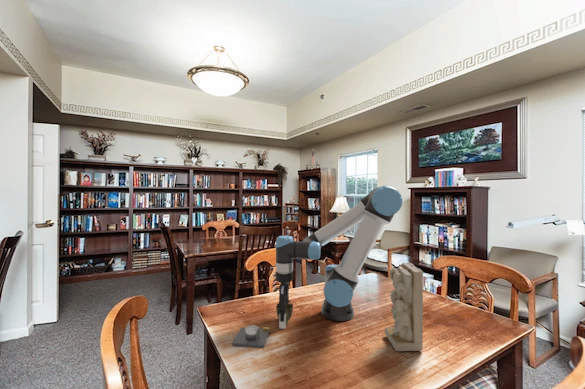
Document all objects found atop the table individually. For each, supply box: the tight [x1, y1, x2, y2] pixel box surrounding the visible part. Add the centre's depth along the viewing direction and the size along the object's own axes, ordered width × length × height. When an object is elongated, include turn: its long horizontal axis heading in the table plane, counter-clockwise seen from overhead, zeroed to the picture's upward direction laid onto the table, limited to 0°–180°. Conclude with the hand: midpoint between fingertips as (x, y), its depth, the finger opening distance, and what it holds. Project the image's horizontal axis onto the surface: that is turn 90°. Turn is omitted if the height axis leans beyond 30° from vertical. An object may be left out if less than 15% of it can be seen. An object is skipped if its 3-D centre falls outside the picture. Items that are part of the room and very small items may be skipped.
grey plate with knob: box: [231, 324, 271, 348], centre depth 109 cm, size 12×12×4 cm
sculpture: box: [384, 262, 424, 352], centre depth 105 cm, size 13×10×30 cm
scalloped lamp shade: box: [275, 302, 294, 325], centre depth 122 cm, size 8×7×8 cm
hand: (283, 322), depth 122 cm, fingers open, 9 cm apart
